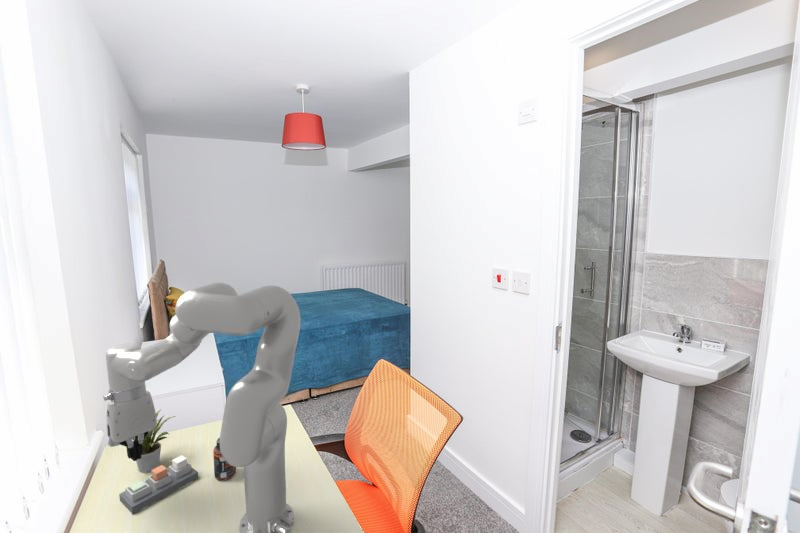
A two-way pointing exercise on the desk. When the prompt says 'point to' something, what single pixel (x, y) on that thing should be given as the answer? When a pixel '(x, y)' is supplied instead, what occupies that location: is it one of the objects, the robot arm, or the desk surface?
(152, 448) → the house plant
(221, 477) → the supplement bottle
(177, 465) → the button
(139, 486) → the button
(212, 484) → the desk surface
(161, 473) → the button
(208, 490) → the desk surface
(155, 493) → the panel
